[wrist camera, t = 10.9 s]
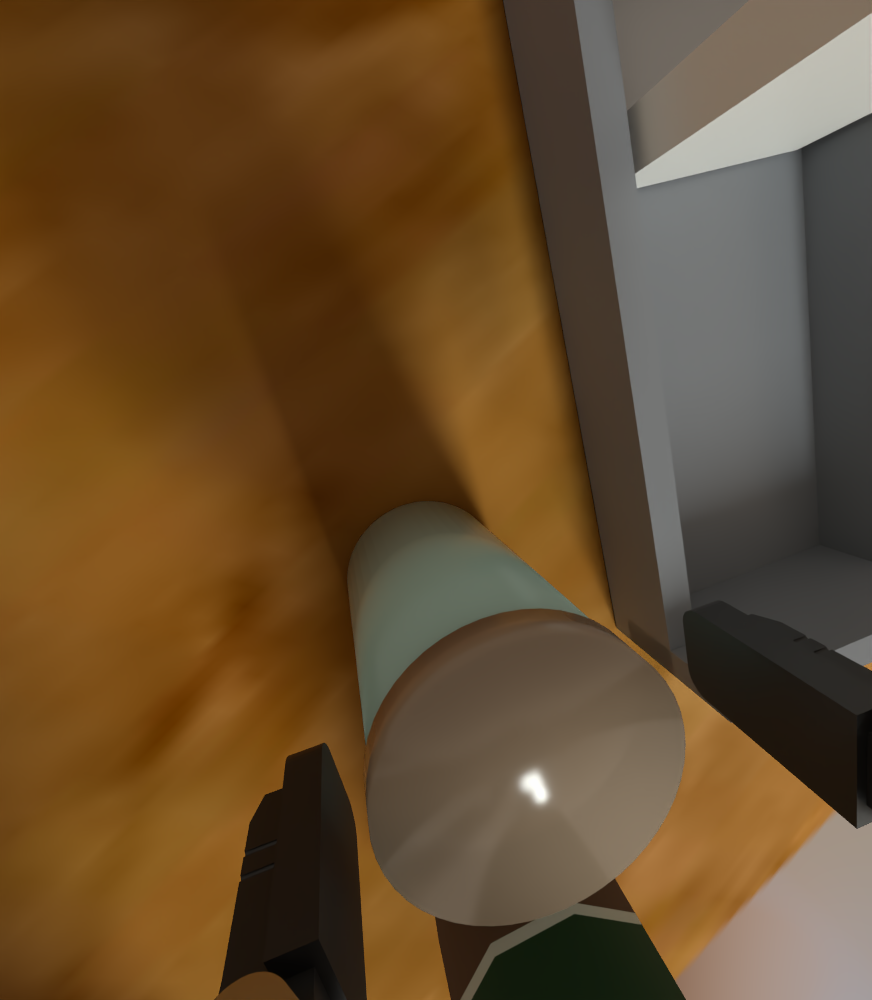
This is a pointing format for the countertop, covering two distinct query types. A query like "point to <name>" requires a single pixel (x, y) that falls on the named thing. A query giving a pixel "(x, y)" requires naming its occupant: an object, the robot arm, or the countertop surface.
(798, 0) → the pusher
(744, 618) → the robot arm
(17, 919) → the countertop surface
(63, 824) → the countertop surface
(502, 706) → the jar
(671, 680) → the countertop surface
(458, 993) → the beer bottle
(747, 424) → the gray rectangular tray
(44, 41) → the countertop surface
